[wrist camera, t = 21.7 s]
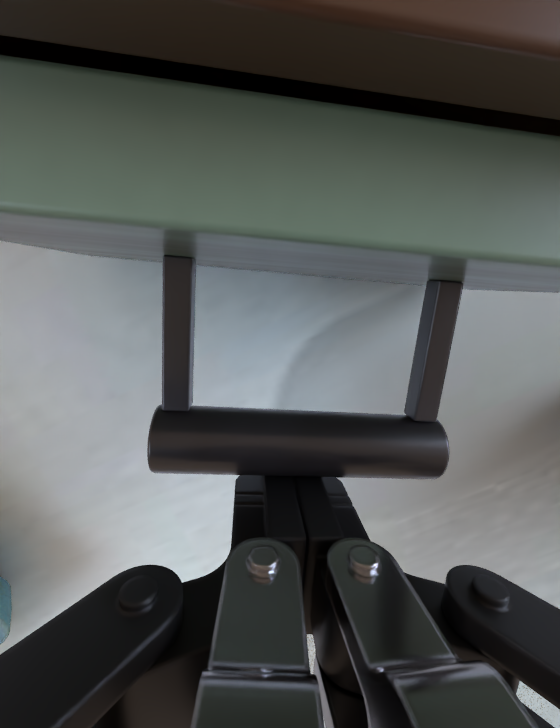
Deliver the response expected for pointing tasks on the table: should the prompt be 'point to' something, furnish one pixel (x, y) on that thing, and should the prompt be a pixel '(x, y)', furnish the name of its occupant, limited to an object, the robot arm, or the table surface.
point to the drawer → (277, 223)
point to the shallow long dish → (5, 609)
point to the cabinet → (330, 42)
